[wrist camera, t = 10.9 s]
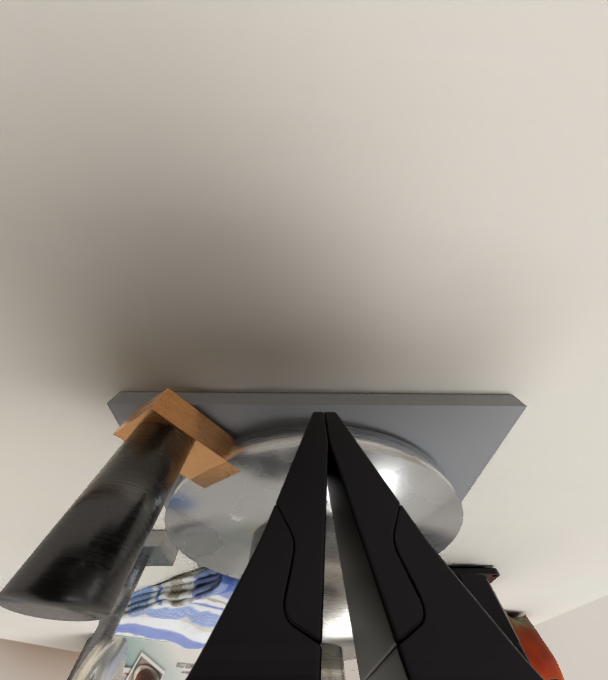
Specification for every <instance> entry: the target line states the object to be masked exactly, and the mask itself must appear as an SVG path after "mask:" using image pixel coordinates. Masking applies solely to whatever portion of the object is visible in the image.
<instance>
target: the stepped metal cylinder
mask: <svg viewBox="0 0 608 680" xmlns="http://www.w3.org/2000/svg"><path fill="white" fill-rule="evenodd" d="M266 524H267V522H266V523H264V524H263V525H261V526H260V527H259V528H257V530H256V531H255V532H254V534H253V537H252V542H251V548H250V554H249V561H250V559H251V557H252V555H253V553H254V551H255V549H256V547H257V545H258V542H259V540H260V538H261V536H262V533H263V531H264V529H265V527H266ZM249 561H248V563H249ZM321 647H322V666H321V680H345V671H344V660H351V659H357V658H356V652H355V646H354V640H353V634H352V628H351V622H350V616H349V610H348V605H347V599H346V593H345V587H344V581H343V575H342V569H341V563H340V557H339V551H338V545H337V540H336V534H335V528H334V522H333V516H328V515H326V539H325V571H324V602H323V634H322V646H321Z"/></svg>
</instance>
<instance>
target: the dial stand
mask: <svg viewBox="0 0 608 680" xmlns="http://www.w3.org/2000/svg"><path fill="white" fill-rule="evenodd" d="M177 553H178V549H177V548H176V546H175V545H174V543H173V542H172V541H171V539H170V538H169V535H168V533H167V532H166V530H151V532H150V534H149V536H148V538H147V540H146V542H145V544H144V546H143V548H142V550H141V552H140V554H139V556H138V558H137V560H136V562H135V564H134V566H133V568H132V570H131V572H130V574H129V576H128V578H127V580H126V582H125V584H124V586H123V588H122V590H121V592H120V594H119V596H118V598H117V600H116V602H115V604H114V606H113V608H112V610H111V612H110V614H109V616H108V617H106V618H103V619H101V621H100V623H99V625H98V627H97V629H96V631H95V633H94V635H93V637H92V639H91V641H90V643H89V645H88V647H87V649H86V651H85V653H84V654H83V656H82V658H81V660H80V662H79V664H78V666H77V668H76V670H75V672H74V674H73V676H72V678H71V680H121V677H122V674H123V670H124V667H125V662H126V657H127V650H128V644H127V640H126V638H124V637H113V636H114V633H115V631H116V629H117V627H118V625H119V623H120V620H121V618H122V616H123V614H124V612H125V610H126V607H127V605H128V603H129V601H130V599H131V597H132V594H133V592H134V590H135V588H136V586H137V584H138V581H139V579H140V577H141V575H142V573H143V571H144V568H145V566H173V563H174V561H175V558H176V555H177Z"/></svg>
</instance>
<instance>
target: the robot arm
mask: <svg viewBox="0 0 608 680" xmlns="http://www.w3.org/2000/svg"><path fill="white" fill-rule="evenodd" d="M327 486H328V492H329V498H330V504H331V510H332V516H333V522H334V528H335V534H336V540H337V545H338V551H339V557H340V563H341V569H342V575H343V581H344V587H345V593H346V599H347V605H348V610H349V616H350V622H351V628H352V634H353V640H354V646H355V652H356V658H357V663H358V670H359V675H360V680H545V679H544V678H543V677H542V676H541V675H540V674H539V673H538V672H537V671H536V670H535V669H534V668H533V667H532V665H531V663H530V661H529V659H528V657H527V655H526V653H525V652H524V650H523V648H522V646H521V643H520V640H519V638H518V636H517V634H516V633H515V631H514V629H513V627H512V625H511V623H510V621H509V619H508V617H507V615H506V613H505V612H504V610H503V608H502V606H501V604H500V602H499V600H498V598H497V596H496V594H495V592H494V591H493V589H492V587H491V585H490V583H491V582H492V581H494V580H495V579H496V578H497V577H499V576H500V574H499V573H498V571H497V569H495V568H449V566H448V565H447V564H446V563H445V562H444V560H443V559H442V558H441V557H440V555H439V554H438V553H437V552H436V550H435V549H434V548H433V547H432V545H431V544H430V543H429V542H428V540H427V539H426V537H425V536H424V535H423V533H422V532H421V531H420V529H419V528H418V527H417V525H416V524H415V523H414V521H413V520H412V519H411V517H410V516H409V514H408V513H407V511H406V510H405V509H404V507H403V506H402V505H400V502H399V500H398V499H397V497H396V496H395V495H394V493H393V492H392V490H391V489H390V488H389V486H388V485H387V483H386V482H385V481H384V479H383V478H382V476H381V475H380V474H379V472H378V471H377V469H376V468H375V466H374V465H373V464H372V462H371V461H370V459H369V458H368V457H367V455H366V454H365V452H364V451H363V450H362V448H361V447H360V445H359V444H358V442H357V441H356V440H355V438H354V437H353V435H352V434H351V433H350V431H349V430H348V428H347V427H346V426H345V424H344V423H343V421H342V420H341V418H340V417H339V416H338V414H337V413H336V412H334V411H326V412H325V413H324V412H322V411H314V412H313V413H312V415H311V417H310V420H309V422H308V425H307V427H306V430H305V432H304V435H303V437H302V439H301V442H300V444H299V447H298V449H297V452H296V454H295V457H294V459H293V461H292V464H291V466H290V469H289V471H288V474H287V476H286V479H285V481H284V484H283V486H282V488H281V491H280V493H279V496H278V498H277V501H276V505H275V506H274V508H273V510H272V512H271V515H270V517H269V520H268V522H267V524H266V527H265V529H264V531H263V533H262V536H261V538H260V540H259V542H258V545H257V547H256V549H255V551H254V553H253V555H252V557H251V559H250V561H249V563H248V565H247V567H246V569H245V571H244V572H243V574H242V576H241V578H240V580H239V582H238V584H237V586H236V587H235V589H234V591H233V593H232V595H231V597H230V599H229V601H228V603H227V604H226V606H225V608H224V610H223V612H222V614H221V616H220V618H219V619H218V621H217V623H216V625H215V627H214V629H213V631H212V633H211V635H210V636H209V638H208V640H207V642H206V644H205V646H204V648H203V649H202V651H201V653H200V655H199V657H198V658H197V660H196V662H195V664H194V665H193V667H192V669H191V671H190V672H189V674H188V676H187V678H186V679H185V680H321V666H322V647H321V646H322V634H323V602H324V571H325V539H326V508H327ZM550 680H558V679H557V678H556V679H550Z"/></svg>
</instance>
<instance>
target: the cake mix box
mask: <svg viewBox="0 0 608 680" xmlns="http://www.w3.org/2000/svg"><path fill="white" fill-rule="evenodd" d="M92 637H93V636H92ZM92 637H90V638H89V639H88V640H87V642H86V644H85V646H84V648H83V650H82V652H81V654H80V656H79V658H78V660H77V661H76V663H75V665H74V667H73V669H72V671H71V673H70V675H69V677H68V679H67V680H71V678H72V676H73V674H74V672H75V670H76V668H77V666H78V664H79V662H80V660H81V658H82V656H83V654H84V653H85V651H86V649H87V647H88V645H89V643H90V641H91V639H92ZM113 637H124V638H126V640H127V644H128V650H127V657H126V662H125V667H124V670H123V674H122V677H121V680H185V679H186V678H187V676H188V674H189V672H190V671H191V669H192V667H193V665H194V664H195V662H196V660H197V658H198V657H199V655H200V653H201V651H202V649H203V648H201V649H196V650H192V649H184V648H181V647H180V646H178V645H176V644H174V643H171V642H166V641H158V640H150V639H142V638H134V637H126V636H119V635H114V636H113Z"/></svg>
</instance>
